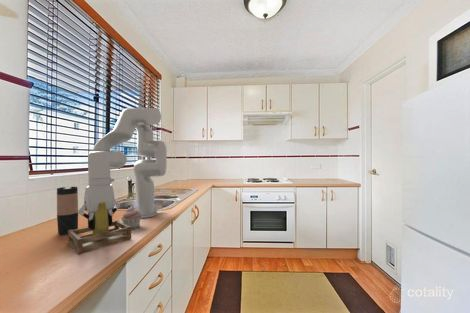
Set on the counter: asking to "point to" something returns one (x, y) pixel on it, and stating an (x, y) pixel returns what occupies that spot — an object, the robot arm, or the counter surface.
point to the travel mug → (67, 209)
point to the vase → (101, 219)
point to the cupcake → (131, 217)
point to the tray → (98, 237)
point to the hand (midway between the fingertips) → (100, 226)
